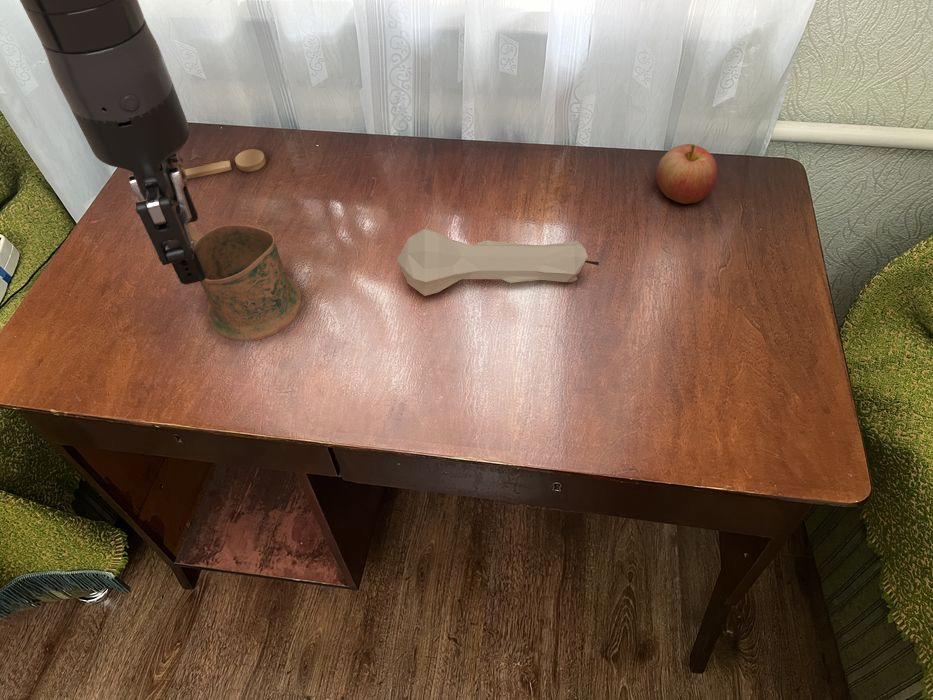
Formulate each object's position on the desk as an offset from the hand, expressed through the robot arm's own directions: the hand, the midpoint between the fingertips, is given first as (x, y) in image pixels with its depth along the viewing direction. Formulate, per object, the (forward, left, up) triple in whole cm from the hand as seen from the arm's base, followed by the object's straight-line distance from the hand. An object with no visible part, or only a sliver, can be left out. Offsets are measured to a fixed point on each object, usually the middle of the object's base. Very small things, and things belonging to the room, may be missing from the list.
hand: (190, 249), depth 65 cm
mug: (0, +13, -20) cm, 24 cm away
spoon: (0, +41, -20) cm, 46 cm away
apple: (+62, +12, -20) cm, 66 cm away
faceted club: (+32, +4, -20) cm, 38 cm away
